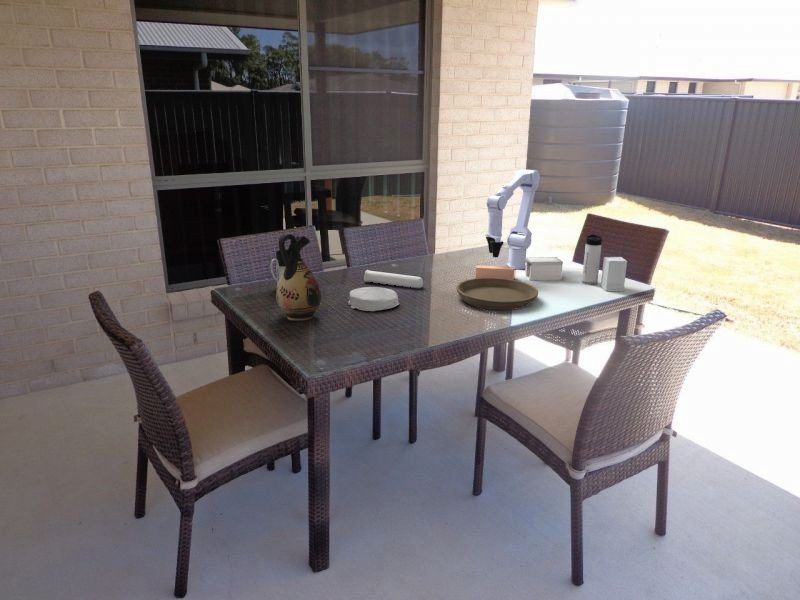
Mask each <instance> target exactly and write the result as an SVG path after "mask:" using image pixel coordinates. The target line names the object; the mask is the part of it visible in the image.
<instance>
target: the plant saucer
mask: <svg viewBox="0 0 800 600" xmlns="http://www.w3.org/2000/svg"><path fill="white" fill-rule="evenodd" d="M456 292H457V294H458V296H460V297H461V299H462V300H463V301H464V302H465V303H466V304H468V305H471V306H474V307H477V308H480V307H481V309H486V310H494V311H495V310H496V311H497V310H499V311H504V310H505V311H506V310H507V311H508V310H509V309H510V310H517V309H522V308H525V307H527V306H529V305H530V304H531V303H532V302H533V301H535V300H536V299H537V298H538V295H539V290H538V289H537V288H536V287H535V286H533V285H531V284H530V283H527V282H524V281H520V280H516V279H514V280H511V279H504V278H476V277H475V278H470V279H465V280H463V281H460V282H459V283H458V284H457V286H456Z"/></svg>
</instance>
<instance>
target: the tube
mask: <svg viewBox="0 0 800 600" xmlns="http://www.w3.org/2000/svg"><path fill="white" fill-rule="evenodd" d="M363 281H364V282H365V283H370V282H373V283H372V284H378V283H380V284H379V285H386V284H388V286H394V285H396V286H395V287H402V286H403V288H410V287H411V288H413V289H421V288H422V287H423V285H424V280H423V278H422V277H420V276H416V275H414V276H413V275H407V274H399V273H390V272H383V271H374V270H369V269H366V270H365V271H364V274H363Z"/></svg>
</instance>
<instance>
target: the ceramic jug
mask: <svg viewBox="0 0 800 600" xmlns="http://www.w3.org/2000/svg"><path fill="white" fill-rule="evenodd" d="M288 240H290V243H289V246H288V247H287V248H286V247H285V245H286V244H285V243H286V241H288ZM309 244H311V241H310V239H309V238H308V237H307V236H305V235H301V236H299V235H296V236H295V235H294V234H293V233H288V232H286V233H283V234H281V235H280V237H279V239H278V249H279V250H280V252H281V255H282V257H283V261H284V262H285V269H284V271H283V273H282V274H281V276H280V279H279V281H278V284H277V285H276V288H277V289H276V290H275V292H276V293H275V298H276V299H275V300H276V303H277V306H278V308H279V309H280V310H281V311H282V312H283V313H284V314H285V315H286V317H287V319H288V321H309V320H312V319H314V318H315V313H316V312H317V310H318V308H319V306H320V305H321V301H322V290H321V287H320V283H319V281H318V279H317V277H316V276H315V274H314V273H313V271H312V270H311V268H310V267H309V265H308V264H306V262H305V261H304V259H303V258H302V255H301V250H302V249H303V248H305V247H306V246H307V245H309ZM279 250H278V251H279ZM286 250H287V251H286ZM287 252H289V253H291V256H290V259H289V257H288V254H287Z"/></svg>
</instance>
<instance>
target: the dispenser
mask: <svg viewBox="0 0 800 600" xmlns="http://www.w3.org/2000/svg"><path fill="white" fill-rule="evenodd" d="M524 261H525V262H526V264H525V265H526V269H525V272H524V275H525V276H526V277H529V278H528V280H529V279H530V280H529V281H560V280H561V281H562V276H563V275H562V274H563V267H564V266H563V263H564V261H562V260H561V259H560V258H559V257H558V256H549V257H548V256H547V257H546V256H545V257H544V256H538V257H535V256H534V257H533V256H532V257H531V256H529V257H527V256H526V258H524Z"/></svg>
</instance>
